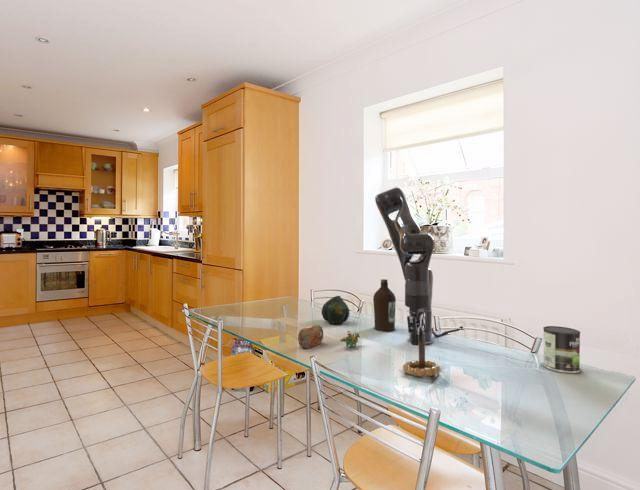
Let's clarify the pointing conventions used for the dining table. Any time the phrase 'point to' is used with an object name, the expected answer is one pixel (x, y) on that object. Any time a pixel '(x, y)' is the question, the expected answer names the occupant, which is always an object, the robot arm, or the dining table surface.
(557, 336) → the coffee can
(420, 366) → the rack
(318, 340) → the reddish brown stone
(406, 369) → the brass ring
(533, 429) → the dining table surface
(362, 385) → the dining table surface
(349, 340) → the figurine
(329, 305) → the squash
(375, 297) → the olive oil
